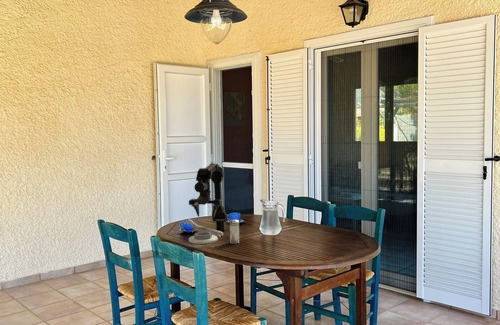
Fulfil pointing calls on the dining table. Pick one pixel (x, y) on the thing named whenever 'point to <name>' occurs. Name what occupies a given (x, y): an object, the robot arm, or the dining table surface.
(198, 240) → the white and grey disc
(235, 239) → the piston
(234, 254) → the dining table surface
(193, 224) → the wrench
